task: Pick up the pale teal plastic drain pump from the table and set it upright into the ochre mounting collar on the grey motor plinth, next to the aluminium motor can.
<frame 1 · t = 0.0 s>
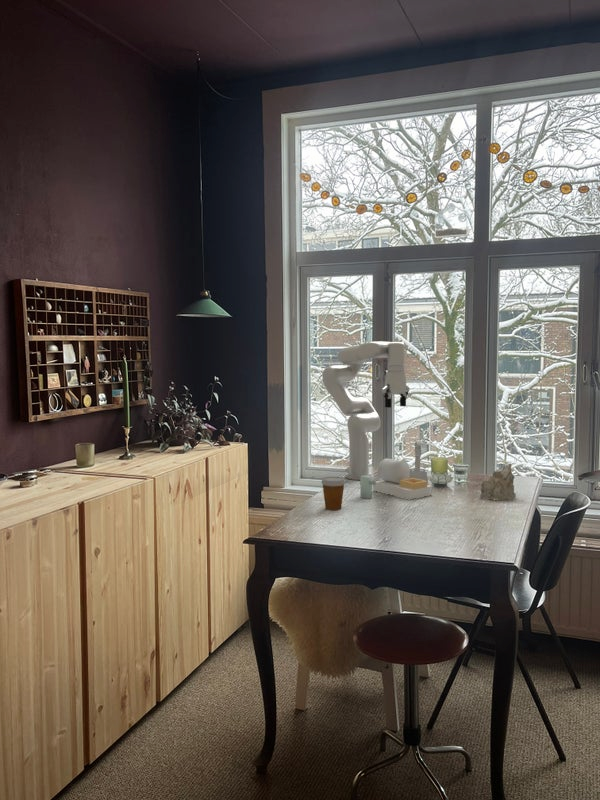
hand: (395, 406, 304), 37 cm above the table, tool pointing down, fingers open, 9 cm apart
motor plinth: (402, 492, 293), on the table
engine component: (417, 484, 312), on the table
disposable coffee cup: (333, 508, 265), on the table
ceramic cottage: (496, 496, 287), on the table
drain pump: (366, 497, 285), on the table
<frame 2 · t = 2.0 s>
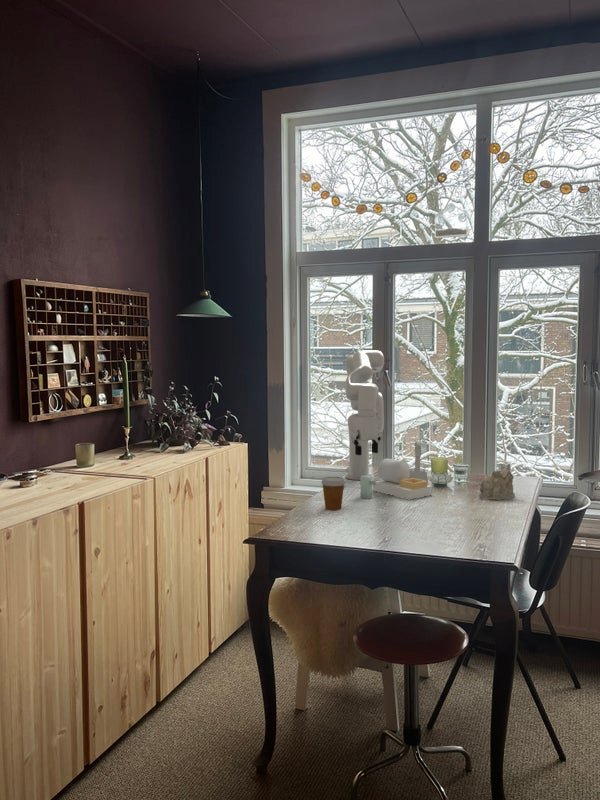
hand: (366, 453, 283), 19 cm above the table, tool pointing down, fingers open, 9 cm apart
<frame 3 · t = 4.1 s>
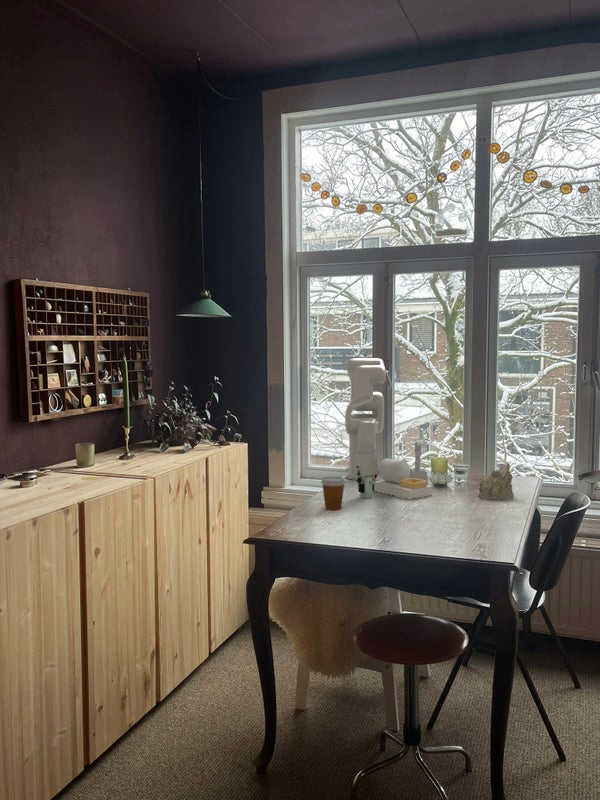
hand: (366, 491, 284), 3 cm above the table, tool pointing down, fingers closed on drain pump, 5 cm apart
drain pump: (366, 497, 285), on the table, touching gripper
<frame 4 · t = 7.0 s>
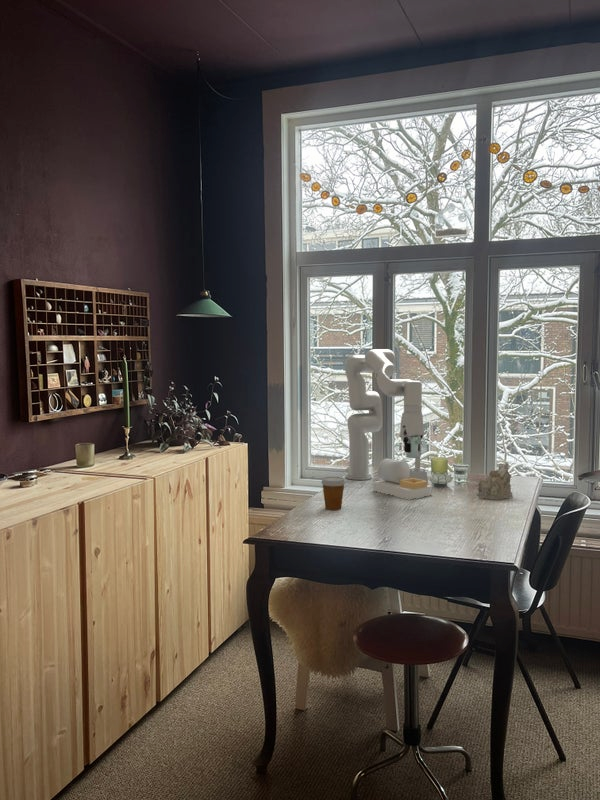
hand: (412, 451, 286), 19 cm above the table, tool pointing down, fingers closed on drain pump, 5 cm apart
drain pump: (412, 457, 286), point 17 cm above the table, touching gripper
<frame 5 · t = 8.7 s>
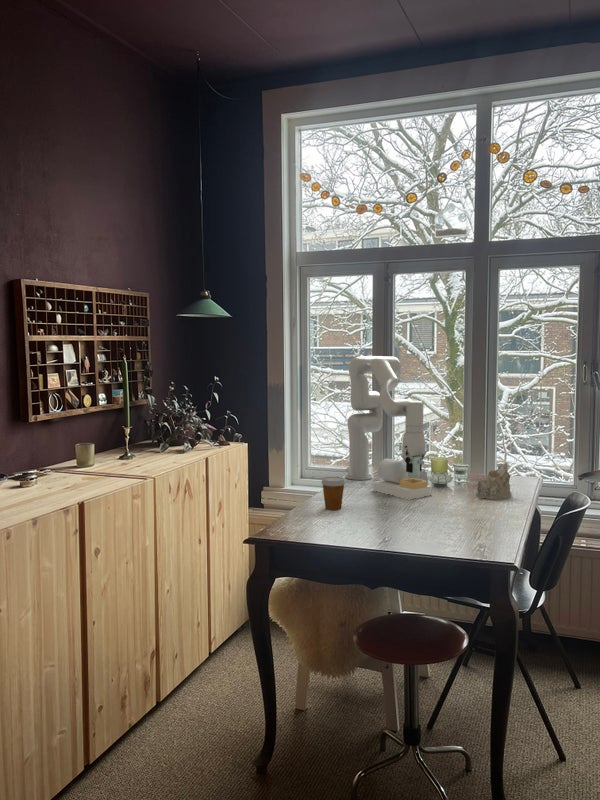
hand: (413, 471, 287), 11 cm above the table, tool pointing down, fingers closed on drain pump, 5 cm apart
drain pump: (413, 477, 287), point 8 cm above the table, touching gripper
when the fingers open (8 cm above the table, at t = 10.1 s): drain pump drops 1 cm, resting on motor plinth.
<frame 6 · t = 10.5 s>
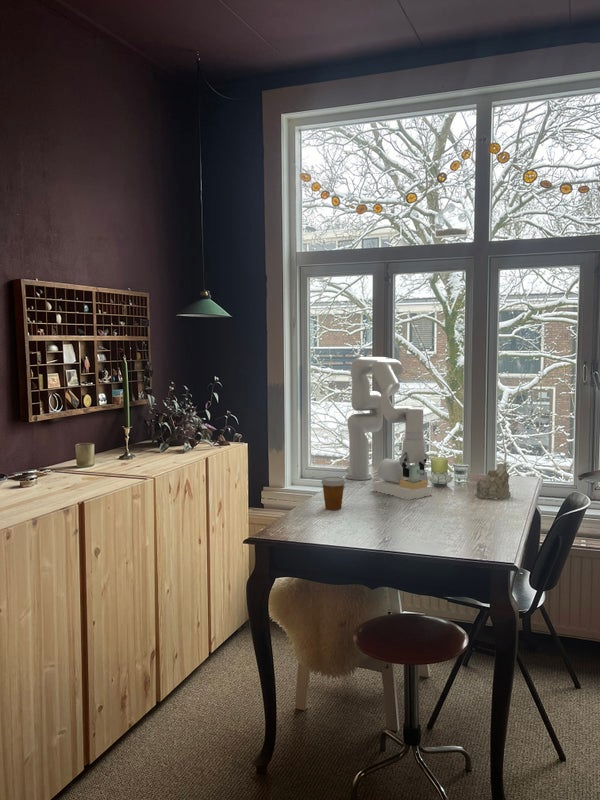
hand: (413, 475, 287), 9 cm above the table, tool pointing down, fingers open, 9 cm apart
drain pump: (413, 486, 287), point 4 cm above the table, touching motor plinth
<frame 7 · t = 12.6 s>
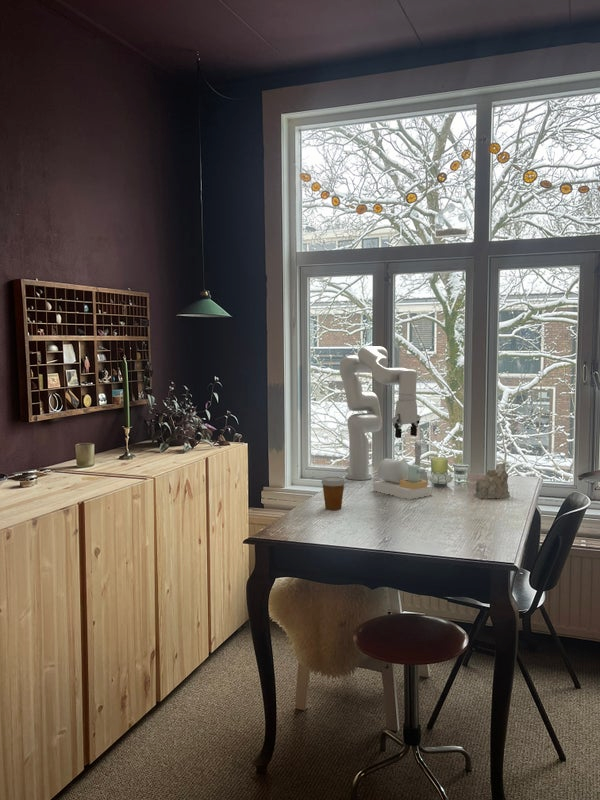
hand: (405, 436, 290), 25 cm above the table, tool pointing down, fingers open, 9 cm apart
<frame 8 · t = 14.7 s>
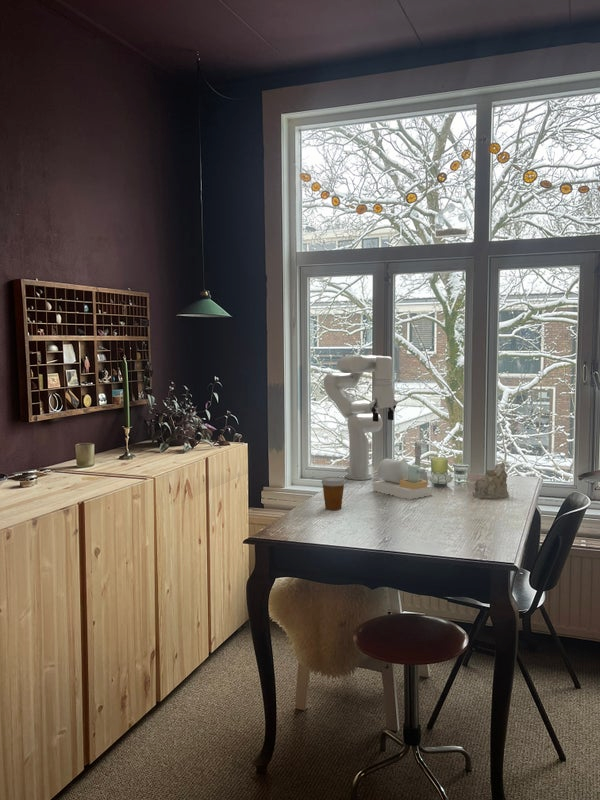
hand: (383, 420, 305), 30 cm above the table, tool pointing down, fingers open, 9 cm apart
at the end: drain pump 0.0 cm from the target spot on the motor plinth, point 4.0 cm above the motor plinth's base; drain pump tilted 0°; the gripper is holding nothing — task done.
